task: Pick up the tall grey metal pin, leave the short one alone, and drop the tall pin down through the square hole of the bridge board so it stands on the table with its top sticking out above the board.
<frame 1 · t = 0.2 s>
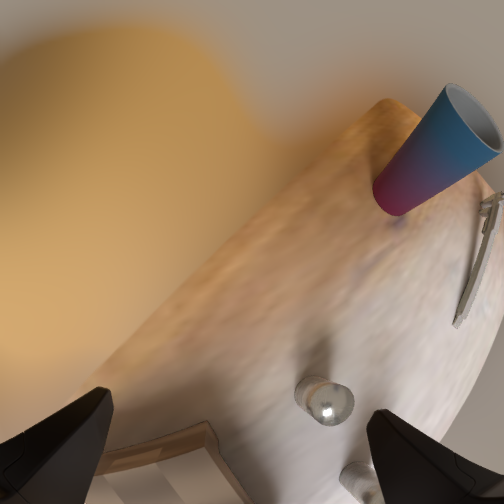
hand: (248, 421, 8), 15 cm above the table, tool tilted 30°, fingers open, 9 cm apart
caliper: (471, 258, 29), on the table
short pin: (312, 393, 22), on the table
bridge board: (186, 498, 17), on the table
long pin: (353, 474, 20), on the table
cup: (390, 196, 29), on the table
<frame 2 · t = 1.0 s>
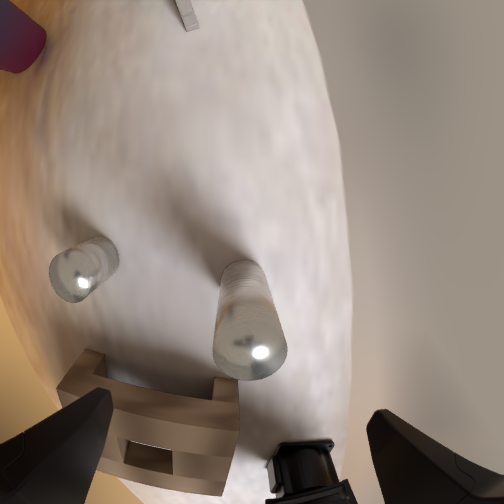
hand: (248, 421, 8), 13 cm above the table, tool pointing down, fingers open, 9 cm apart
short pin: (101, 257, 19), on the table
bridge board: (158, 412, 23), on the table
long pin: (243, 281, 20), on the table
cup: (28, 50, 14), on the table
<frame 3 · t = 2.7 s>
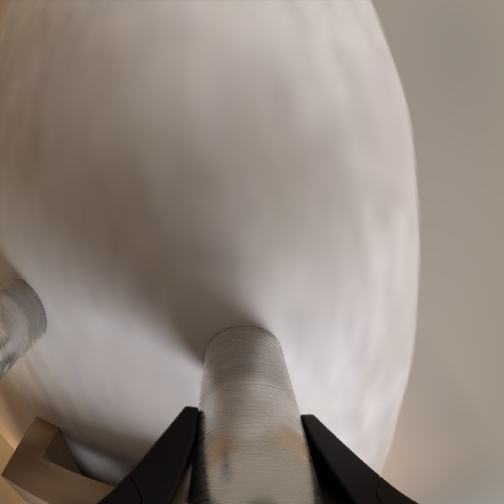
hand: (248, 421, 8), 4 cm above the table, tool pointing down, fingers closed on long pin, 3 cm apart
short pin: (23, 309, 10), on the table
bridge board: (137, 488, 14), on the table
long pin: (244, 358, 11), on the table, touching gripper
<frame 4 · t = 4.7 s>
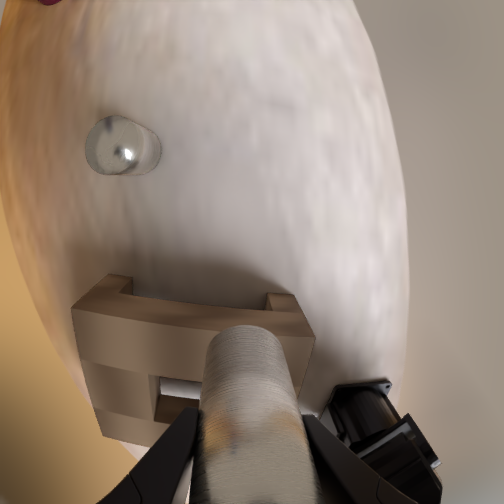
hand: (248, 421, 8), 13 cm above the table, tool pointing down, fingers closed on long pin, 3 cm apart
short pin: (139, 151, 17), on the table
bridge board: (194, 353, 21), on the table
long pin: (244, 358, 11), point 9 cm above the table, touching gripper
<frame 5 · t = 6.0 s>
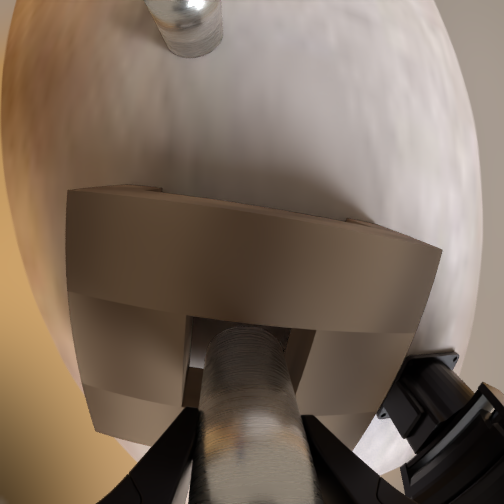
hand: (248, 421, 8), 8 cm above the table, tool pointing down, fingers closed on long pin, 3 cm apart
short pin: (194, 35, 12), on the table
bridge board: (239, 308, 16), on the table
long pin: (244, 358, 11), point 5 cm above the table, touching gripper
when the fingers open (7 cm above the table, at t = 6.9 s): long pin drops 3 cm, on the table.
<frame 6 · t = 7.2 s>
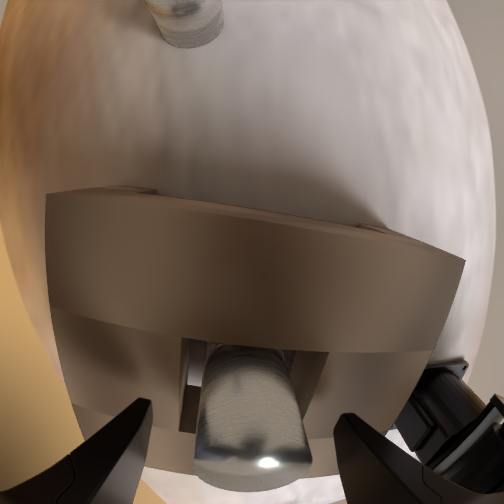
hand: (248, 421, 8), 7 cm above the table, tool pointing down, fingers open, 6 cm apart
short pin: (192, 24, 10), on the table
bridge board: (241, 320, 14), on the table
long pin: (242, 319, 14), on the table
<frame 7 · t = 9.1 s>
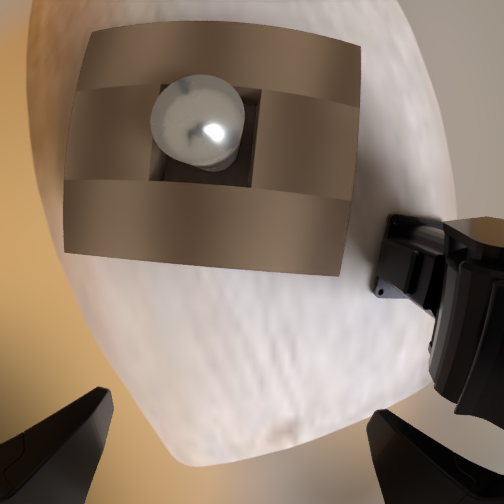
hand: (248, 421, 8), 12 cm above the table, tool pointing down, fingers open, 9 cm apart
bridge board: (213, 147, 17), on the table
long pin: (214, 147, 17), on the table
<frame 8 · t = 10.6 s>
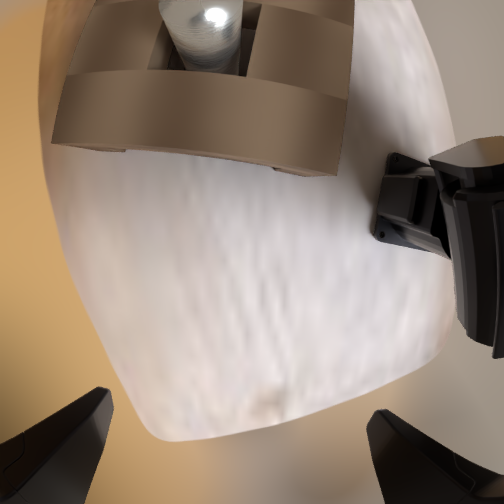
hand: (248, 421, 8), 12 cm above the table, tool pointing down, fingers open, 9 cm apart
bridge board: (213, 73, 16), on the table
long pin: (214, 73, 16), on the table
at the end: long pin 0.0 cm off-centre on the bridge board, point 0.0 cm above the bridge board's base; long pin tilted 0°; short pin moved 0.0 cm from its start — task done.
